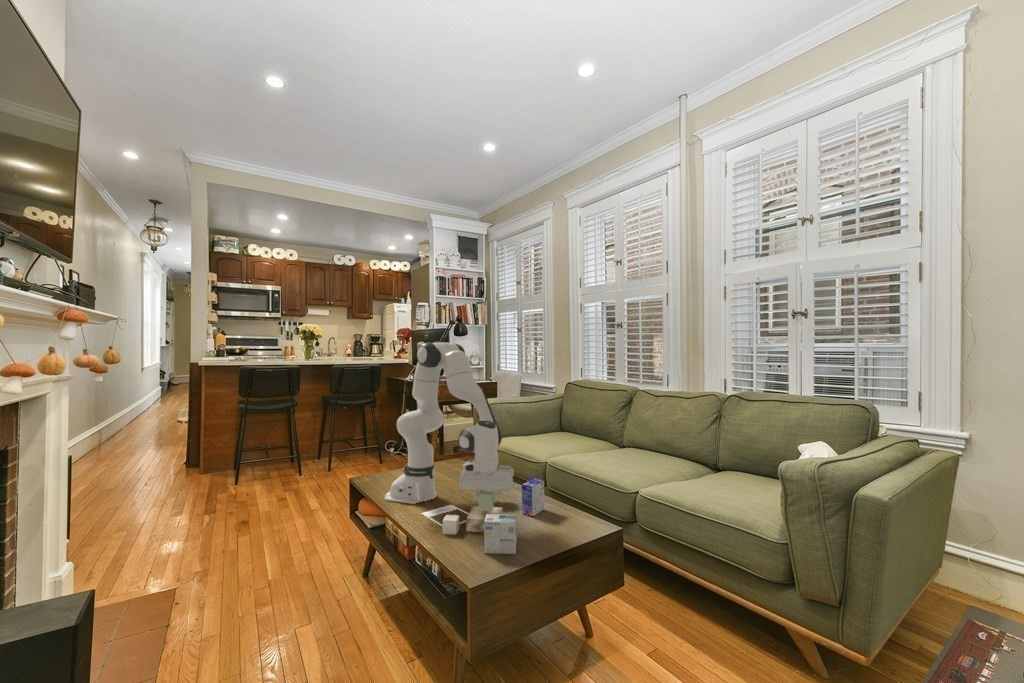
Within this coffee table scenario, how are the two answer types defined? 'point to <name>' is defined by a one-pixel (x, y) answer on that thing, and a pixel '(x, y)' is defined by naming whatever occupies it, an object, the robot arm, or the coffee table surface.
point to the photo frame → (440, 511)
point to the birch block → (479, 518)
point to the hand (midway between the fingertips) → (486, 501)
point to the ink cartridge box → (532, 496)
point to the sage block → (486, 500)
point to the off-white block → (451, 524)
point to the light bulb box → (500, 533)
